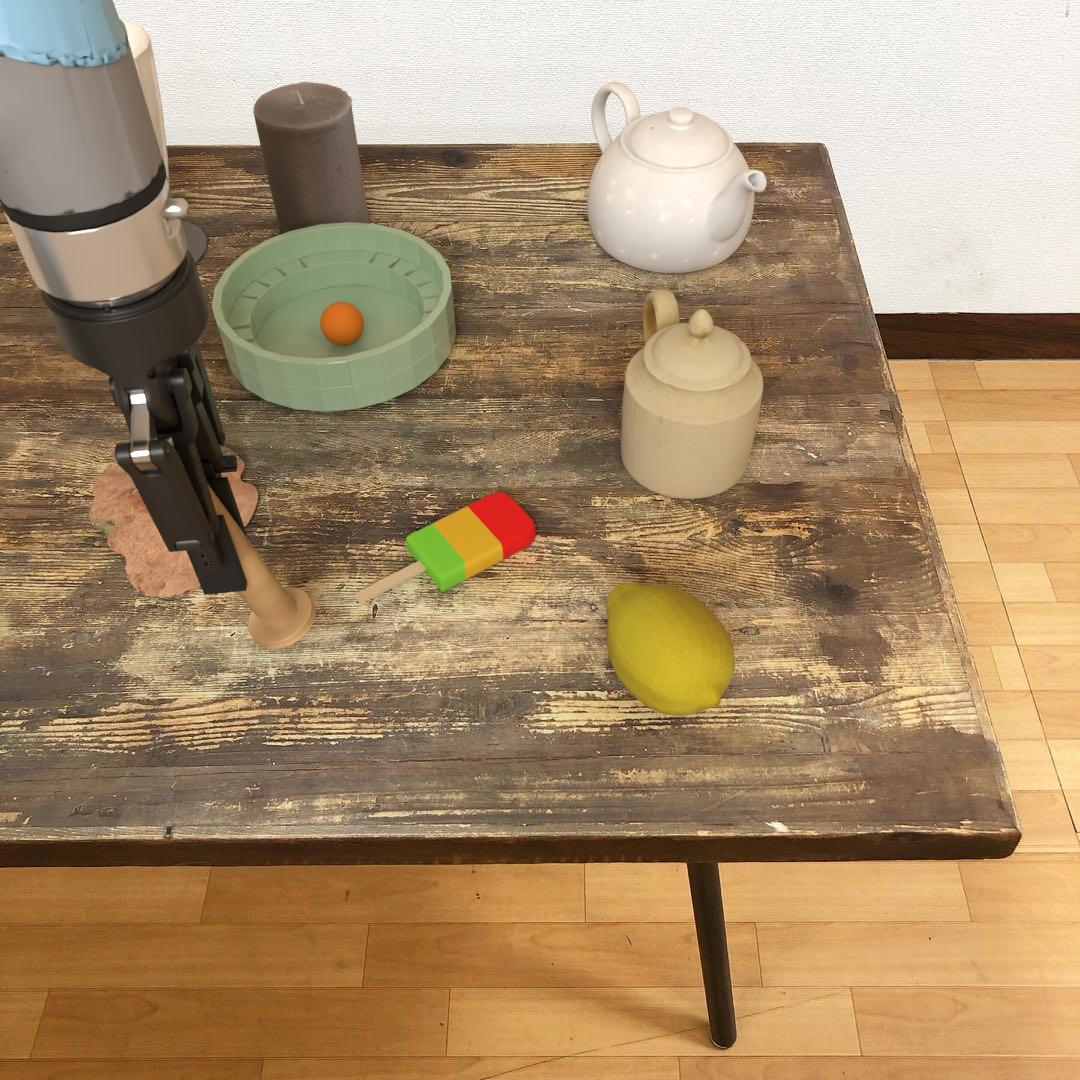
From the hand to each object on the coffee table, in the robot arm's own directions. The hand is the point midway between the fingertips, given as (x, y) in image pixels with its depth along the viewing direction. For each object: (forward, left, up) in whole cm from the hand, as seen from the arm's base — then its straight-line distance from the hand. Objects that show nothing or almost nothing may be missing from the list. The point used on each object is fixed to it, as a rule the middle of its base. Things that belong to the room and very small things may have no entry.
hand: (227, 568), depth 71 cm
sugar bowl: (+34, +18, -10) cm, 40 cm away
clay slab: (-7, +15, -10) cm, 19 cm away
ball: (+6, +35, -7) cm, 36 cm away
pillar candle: (+4, +56, -10) cm, 57 cm away
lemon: (+29, -6, -10) cm, 31 cm away
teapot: (+40, +50, -10) cm, 65 cm away
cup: (-14, +54, -10) cm, 57 cm away
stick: (+3, 0, -6) cm, 7 cm away
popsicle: (+14, +7, -10) cm, 18 cm away
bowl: (+6, +36, -10) cm, 38 cm away
